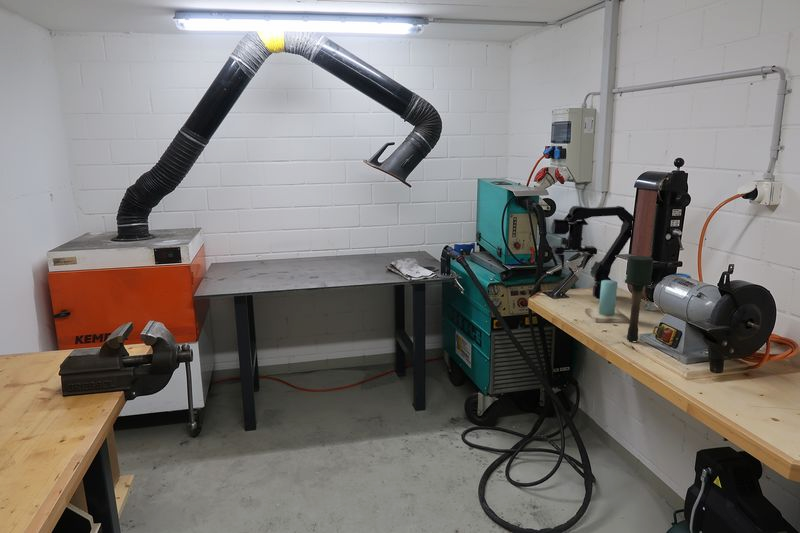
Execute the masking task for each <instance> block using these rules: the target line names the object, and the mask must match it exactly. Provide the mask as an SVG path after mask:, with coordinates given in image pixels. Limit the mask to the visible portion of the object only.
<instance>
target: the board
mask: <svg viewBox="0 0 800 533" xmlns="http://www.w3.org/2000/svg"><path fill="white" fill-rule="evenodd" d="M584 313H585V314H586V315H587V316H588V317H590V318H591V320H593V321H594V322H595V323H630V317H628V316H626V315H625V314H624V313H623V312H622V311H620V310H619V309H618V308H615V314H614V315H612V316H606V315H601V314H599V308H584Z"/></svg>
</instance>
